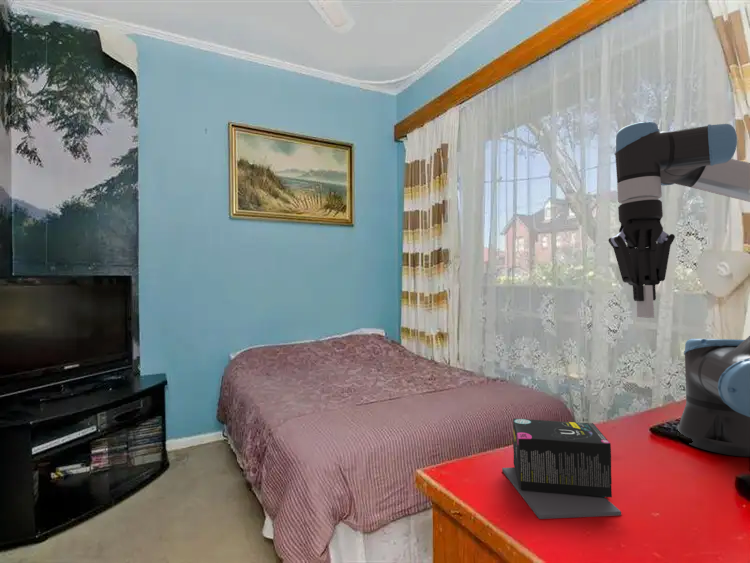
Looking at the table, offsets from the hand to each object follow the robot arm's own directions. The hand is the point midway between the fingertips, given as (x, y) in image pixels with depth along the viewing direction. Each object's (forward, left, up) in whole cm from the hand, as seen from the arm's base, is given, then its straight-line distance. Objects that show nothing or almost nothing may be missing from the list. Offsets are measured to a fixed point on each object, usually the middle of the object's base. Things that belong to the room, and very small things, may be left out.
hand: (645, 317), depth 83 cm
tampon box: (+16, +10, -24) cm, 30 cm away
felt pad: (+25, +11, -29) cm, 40 cm away
